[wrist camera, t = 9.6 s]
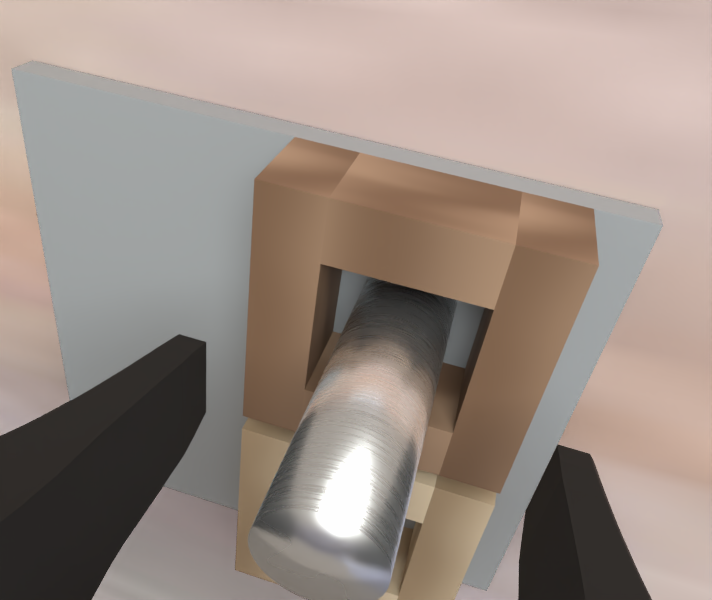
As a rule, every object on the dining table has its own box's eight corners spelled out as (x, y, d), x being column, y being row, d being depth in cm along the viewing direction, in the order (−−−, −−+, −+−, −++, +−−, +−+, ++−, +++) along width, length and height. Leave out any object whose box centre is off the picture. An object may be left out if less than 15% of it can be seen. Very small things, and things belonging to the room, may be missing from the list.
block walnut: (593, 209, 14) (598, 265, 12) (506, 424, 18) (500, 493, 16) (294, 137, 15) (254, 179, 13) (275, 358, 19) (242, 415, 17)
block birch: (502, 436, 19) (494, 505, 17) (448, 569, 23) (437, 637, 21) (274, 370, 20) (242, 428, 18) (262, 509, 24) (235, 569, 22)
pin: (465, 262, 16) (398, 537, 9) (449, 338, 17) (382, 622, 11) (370, 243, 16) (245, 495, 10) (363, 319, 18) (249, 582, 11)
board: (659, 209, 15) (663, 225, 14) (488, 571, 24) (486, 590, 23) (32, 60, 17) (11, 68, 16) (92, 444, 26) (79, 459, 25)
